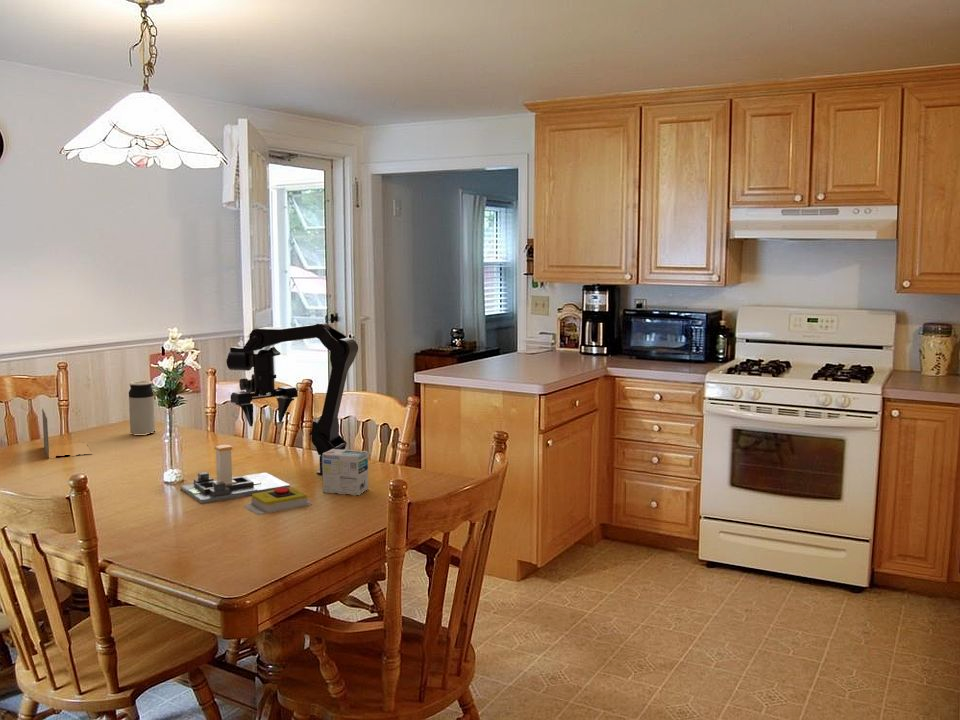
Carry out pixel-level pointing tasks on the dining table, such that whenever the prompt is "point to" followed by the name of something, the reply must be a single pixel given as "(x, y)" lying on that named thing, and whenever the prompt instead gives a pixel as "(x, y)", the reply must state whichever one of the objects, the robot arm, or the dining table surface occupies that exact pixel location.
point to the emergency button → (277, 500)
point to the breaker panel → (231, 487)
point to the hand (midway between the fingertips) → (265, 424)
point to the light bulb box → (345, 471)
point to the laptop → (45, 432)
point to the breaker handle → (224, 464)
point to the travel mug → (141, 407)
